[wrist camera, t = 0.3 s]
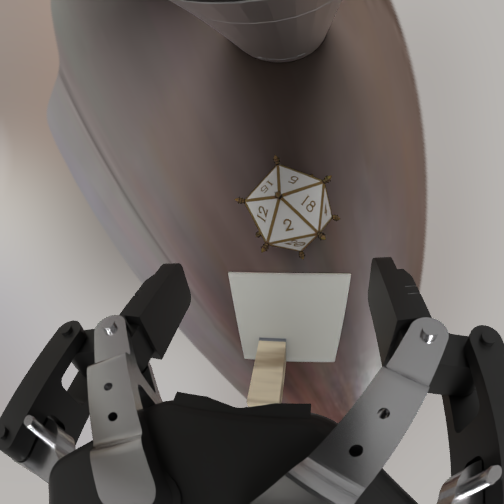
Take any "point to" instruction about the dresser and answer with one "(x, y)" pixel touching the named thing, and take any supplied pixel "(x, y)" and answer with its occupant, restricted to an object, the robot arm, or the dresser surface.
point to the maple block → (268, 372)
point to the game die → (289, 208)
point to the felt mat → (291, 312)
